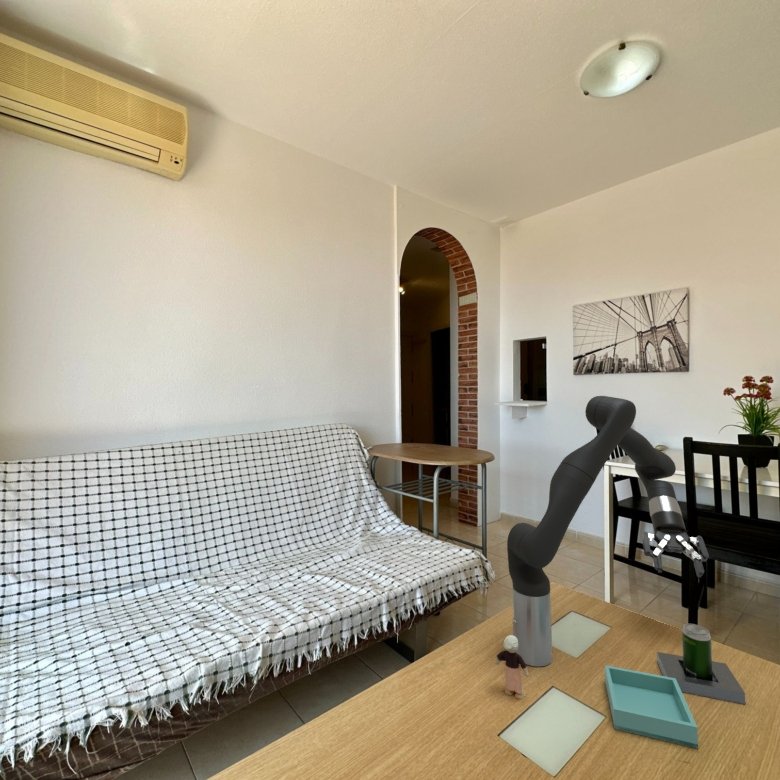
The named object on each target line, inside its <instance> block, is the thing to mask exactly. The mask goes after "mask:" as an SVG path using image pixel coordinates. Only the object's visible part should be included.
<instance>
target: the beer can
mask: <svg viewBox="0 0 780 780" xmlns="http://www.w3.org/2000/svg"><path fill="white" fill-rule="evenodd" d="M682 627H683V628H682V629H681V637H682V656H683V672H684V674H685V676H686V677H691V678H696V679H702V680H707V681H713V680H712V661H713V654H712V653H713V652H712V651H713V650H712V637H711V634H710V631H709V630H708V629H707V628H705V627H704V626H702V625H698V624H695V623H685V624H683V626H682Z"/></svg>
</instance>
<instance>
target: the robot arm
mask: <svg viewBox="0 0 780 780" xmlns="http://www.w3.org/2000/svg"><path fill="white" fill-rule="evenodd" d="M584 412H585V418H586V420H587V422H588V423H589V424H590V425H591V426H592V427H594V428H595V429H597V430H598V431H599V432H598V433H597V435H595V437H593V438H592V439H591V440H590V441H588V442H586V443H584V445H582V446H580V447H578V448H577V449H575V450H573V451H572V452H570V453H569V454H567V455H566V456H565V457H564V458H563V459H562V460H561V461H560V464H559V465H558V467H557V468H556V470H555V471H554V473H553V475H552V477H551V479H550V483H549V492H548V493H549V494H548V495H549V496H548V505H547V509H546V510H545V512H544V515H543V517H542V518H541V520H540V521H539V524H538V525H536V526H534V525H532V524H530V523H527V522H518V523H516V524H515V525H513V526H512V527H511V529H510V530H509V533H508V535H507V542H506V550H507V566H508V573H509V575H510V579H511V581H512V582H511V583H512V603H513V604H512V609H513V614H512V615H513V616H512V635H513V636H515V637H516V638H517V639H518V649H517V651H516V653H517V654H519V655H520V656H521V657H522V659H523V661H524V662H525V664H526V665H528V666H532V667H545V666H548V665H550V664H551V663H552V661H553V644H552V643H553V639H552V638H553V636H552V608H551V603H552V602H551V582H550V578H549V577H548V575H547V574H546V573H545V571H544V570H543V569H544V568H546V567H547V566H548V565H549V564H550V563H551V562H552V561H553V559H554V558H555V556H556V555H557V552H558V551H559V549H560V546H561V544H562V542H563V539H564V537H565V534H566V533H567V531H568V529H569V526H570V524H571V522H572V521H573V519H574V517H575V515H576V514H577V512H578V510H579V508H580V506H581V505H582V503H583V500H584V499H585V498H586V496H587V495H588V493H589V492H590V490H591V488H592V487H593V485H594V483H595V481H596V480H597V478H598V476H599V475H600V472H601V471H602V469H603V467H604V466H605V464H606V463H607V461H608V460H609V458H610V456H611V455H612V453H613V452H614V450H616V448H617V447H619V448H621V450H623V451H624V453H625V454H626V455H627V457H629V459H631V461H632V462H633V463H634V470H635V473H636V474H637V476H638V478H639V479H640V481H641V483H642V484H643V486H644V489H645V491H646V496H647V501H648V505H649V506H648V509H649V516H650V518H651V522H652V528H653V533H649V532H647V531H643V533H642V535H641V539H642V547H643V548H642V549H643V554H644V556H646V557H650V558H652V559H653V560H652V561H653V562H652V563H653V564H654V565H653V567H654V569H655V570H656V571H657V572H658V573H660V574H662V573H663V570H664V569H663V565H662V560H661V556H660V555H661V554H662V553H663V552H664V551H666V552H667V553H678V554H681V553H683V554H684V555H685V556H686V557H688V558H689V559H690V560H692V561H693V567H694V569H695V574H696V577H698V578H702V576H703V575H704V573H705V569H704V565H703V562H704V563H705V562H707V561H708V559H709V558H710V555H709V552H708V549H707V547H706V544H705V541H704V539H703V538H704V537H702V536H701V535H697V536H696V537H694V536H691V537H690V536H689V535H688V533H687V530H686V525H685V522H684V518H683V513H682V510H681V506H680V505H679V503H678V499H677V496H676V492H675V489H674V486H673V485H672V484H671V482H669V481H666V480H662V479H666V478H670V477H673V476H674V474H675V473H676V471H677V470H676V469H677V468H676V463H675V462H674V460H673V459H672V458H671V457H670V456H669V455H668V454H666V453H665V452H663V451H661V450H659V449H657V448H656V447H654V446H653V444H652V443H651V442H650V441H649V440H648V438H646V437H645V436H644V435H643V434H641V433H640V432H639V431H637V430H635V429H633V428H632V426H633V423H634V422H635V419H636V415H637V408H636V405H635V404H634V402H633V401H631V400H629V399H625V398H619V397H614V396H608V395H596V396H593V397H591V398H590V399H589V401H588V402H587V404H586V407H585V411H584ZM652 540H654V541H655V542H656V543H657V547H656V548H655V549H654V550H652V549H651V544H650V543H651V542H652ZM690 543H692V544H693V545H694V546H695V547H696V548H697V550H698V552H697V551H696V550H695V549H694V548H693V546H691V544H690Z"/></svg>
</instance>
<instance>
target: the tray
mask: <svg viewBox="0 0 780 780" xmlns="http://www.w3.org/2000/svg"><path fill="white" fill-rule="evenodd" d="M604 680H605V681H604V683H605V688H606V693H607V698H608V703H609V708H610V712H611V717H612V724H613V728H614V730H617V731H621V732H626V733H629V734H634V735H639V736H642V737H646V738H652V739H655V740H659V741H662V742H663V741H664V742H668V743H672V744H677V745H680V746H685V747H689V748H690V747H691V748H694V749H699V731H698V726H697V723H696V721H695V719H694V716H693V714H692V713H691V709H690V708H689V705H688V703H687V701H686V698H685V696H684V694H683V692H681V689H680V687H679V685H678V683H677V680H676V678H671V677H665V676H663V675H659V674H654V673H649V672H643V671H639V670H638V671H637V670H633V669H627V668H622V667H616V666H611V665H606V664H605V665H604Z"/></svg>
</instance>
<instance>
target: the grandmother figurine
mask: <svg viewBox="0 0 780 780" xmlns="http://www.w3.org/2000/svg"><path fill="white" fill-rule="evenodd" d="M502 646H503V648H504V649H505V650H501V651H500V652H499V653H498V654H497V655H496V658H495V660H494V663H495V664H496V665H499V664H501V663H500V662H505V664H504V681H505V682H504V683H505V691H504V693H505V695H507V696H513V694H514V697H515V698H516V699H518V700H522V699H523V698H525V697H526V695H527V694H526V691H525V690H524V689H523V682H522V681H523V680H522V672H523V675H524V676H525V677H526V678H528V677H530V673H529V671H528V666H527V664H525V662H524V661H523V659H522V657H521V656H520V655H519V654H517V653H516V651H517V649H518V639H517V638H516V637H515V636H513V634H509V635H507V636H506V637H505V639H504V641H503V643H502ZM521 670H522V671H521Z"/></svg>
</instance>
